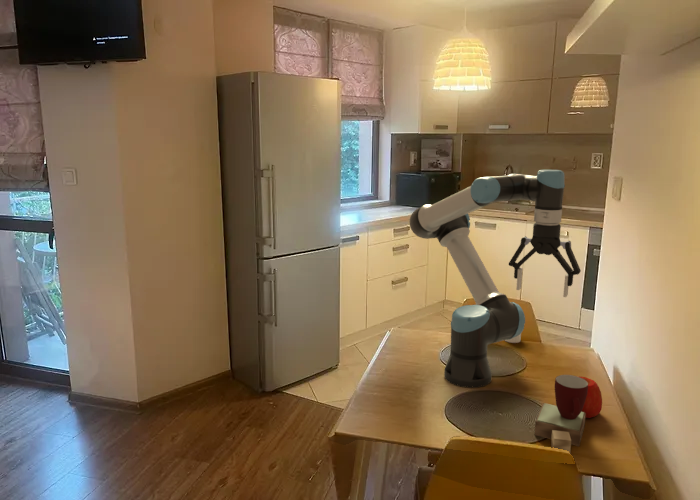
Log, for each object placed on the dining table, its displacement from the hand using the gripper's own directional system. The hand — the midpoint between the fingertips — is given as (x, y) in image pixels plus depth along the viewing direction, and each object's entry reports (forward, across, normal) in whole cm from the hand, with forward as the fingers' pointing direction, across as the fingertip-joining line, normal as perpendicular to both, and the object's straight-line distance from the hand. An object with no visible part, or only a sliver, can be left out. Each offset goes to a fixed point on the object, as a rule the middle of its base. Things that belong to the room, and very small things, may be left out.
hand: (541, 292), depth 160 cm
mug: (+27, +14, -22) cm, 38 cm away
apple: (+31, +15, -9) cm, 36 cm away
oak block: (+31, +14, -31) cm, 46 cm away
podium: (+31, +12, -22) cm, 40 cm away
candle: (+32, -17, +36) cm, 51 cm away
